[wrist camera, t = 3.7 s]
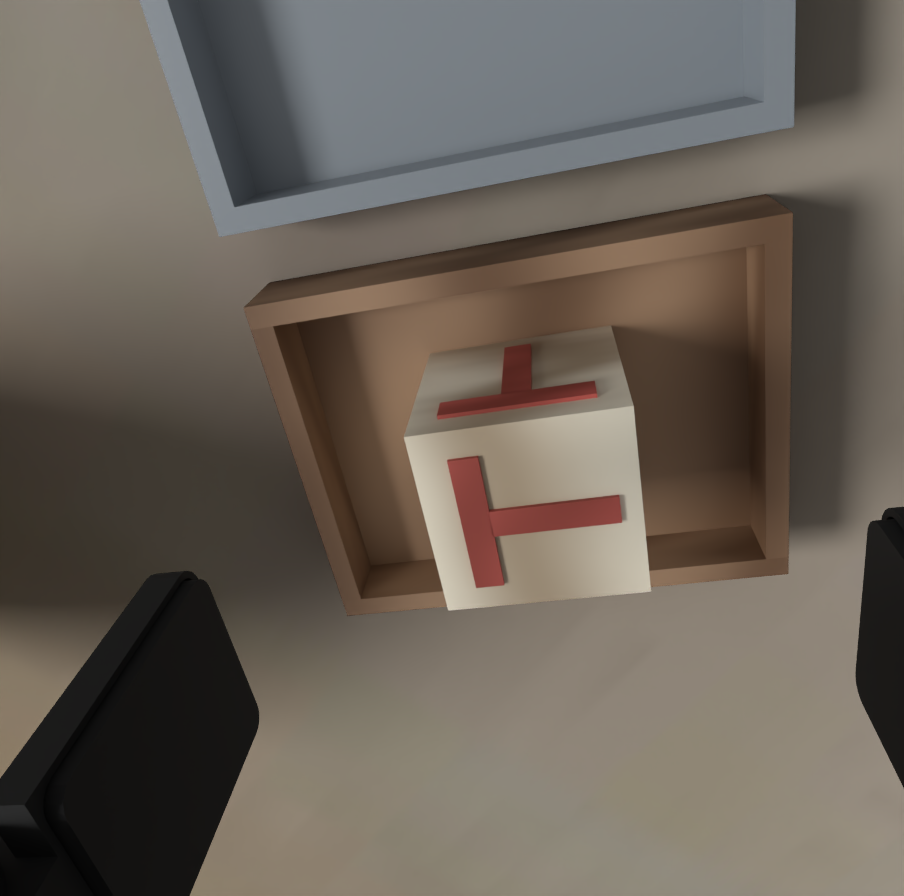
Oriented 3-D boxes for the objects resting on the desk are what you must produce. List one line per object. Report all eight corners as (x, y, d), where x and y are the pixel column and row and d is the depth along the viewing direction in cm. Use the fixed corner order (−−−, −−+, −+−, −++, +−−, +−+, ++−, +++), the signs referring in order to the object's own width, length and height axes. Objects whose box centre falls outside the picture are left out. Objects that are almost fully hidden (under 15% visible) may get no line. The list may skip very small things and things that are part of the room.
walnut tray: (765, 194, 19) (792, 212, 17) (767, 529, 23) (788, 574, 21) (269, 282, 21) (243, 307, 19) (361, 572, 26) (347, 616, 24)
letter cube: (610, 321, 20) (633, 403, 16) (627, 483, 22) (651, 594, 18) (429, 350, 21) (402, 435, 17) (463, 502, 23) (447, 613, 19)
